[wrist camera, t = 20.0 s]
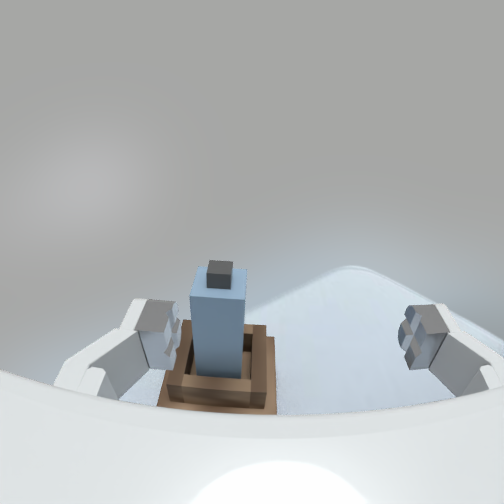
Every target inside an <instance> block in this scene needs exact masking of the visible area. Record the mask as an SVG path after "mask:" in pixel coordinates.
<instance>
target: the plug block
mask: <svg viewBox="0 0 504 504" xmlns="http://www.w3.org/2000/svg"><path fill="white" fill-rule="evenodd" d="M246 280H247V269H233V262H230V261H213V260H210V261H209V265H208V267H200V266H198V269H197V273H196V276H195V279H194V282H193V286H192V289H191V293H190V309H191V322H192V333H193V344H194V355H195V365H196V374H197V376H207V377H219V378H233V379H241V371H242V355H243V336H244V317H245V299H246Z"/></svg>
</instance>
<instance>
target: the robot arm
mask: <svg viewBox="0 0 504 504" xmlns="http://www.w3.org/2000/svg"><path fill="white" fill-rule="evenodd" d="M178 311H179V310H178V305H177V303H176V302H173V301H162V300H152V299H149V300H148V299H138V298H135V299H134V300H133V301H132V303H131V305H130V307H129V309H128V311H127V313H126V315H125V317H124V319H123V321H122V323H121V326H120V328H119V329H116V328H115V329H114V330H112V331H110V332H109V333H107V334H106V335H104V336H103V337H101V338H100V339H98V340H96V341H95V342H93V343H92V344H90V345H89V346H87V347H86V348H84V349H83V350H81V351H79V352H78V353H76V354H75V355H73V356H72V357H70V358H69V359H67V360H66V361H65V363H64V365H63V366H62V368H61V370H60V372H59V374H58V376H57V378H56V380H55V382H54V384H53V385H49V384H45V383H42V382H38V381H35V380H32V379H28V378H25V377H22V376H19V375H16V374H13V373H10V372H7V371H4V370H1V369H0V504H504V357H502V356H501V355H499V354H498V353H496V352H495V351H493V350H492V349H490V348H489V347H488V346H486V345H485V344H483V343H482V342H480V341H479V340H477V339H476V338H474V337H473V336H471V335H470V334H468V333H467V332H465V331H461V329H460V328H459V326H458V324H457V323H456V321H455V319H454V318H453V316H452V314H451V313H450V311H449V310H448V308H447V306H446V305H444V304H443V303H442V304H432V305H409V306H408V307H407V309H406V311H405V317H406V319H405V320H404V321H403V322H402V323H401V325H400V327H399V331H398V340H399V344H400V347H401V348H402V349H403V350H404V351H406V354H405V356H404V357H405V360H406V362H407V365H408V368H409V370H416V369H427V368H429V370H430V371H431V372H432V373H433V374H434V375H435V376H436V377H437V378H438V379H439V380H440V381H441V382H442V383H443V384H444V385H445V386H446V387H447V388H448V389H449V390H450V391H451V392H452V393H453V394H454V395H455V396H456V397H455V398H450V399H445V400H440V401H434V402H429V403H423V404H417V405H410V406H403V407H396V408H388V409H379V410H370V411H359V412H347V413H331V414H307V415H255V414H231V413H215V412H203V411H192V410H182V409H173V408H165V407H158V406H151V405H144V404H137V403H131V402H125V401H120V400H119V398H120V397H121V396H122V395H123V394H124V393H126V392H127V391H128V390H129V389H130V388H131V387H132V386H133V385H134V384H135V383H136V382H137V381H138V380H139V379H140V378H141V377H142V376H143V375H144V374H145V373H146V372H147V371H149V368H150V369H161V370H173V368H174V364H175V360H176V351H175V349H177V348H178V347H179V345H180V341H181V322H180V320H179V319H178V318H177V314H178Z"/></svg>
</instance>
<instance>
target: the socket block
mask: <svg viewBox="0 0 504 504" xmlns="http://www.w3.org/2000/svg"><path fill="white" fill-rule="evenodd" d="M175 351H176V360H175V364H174V368H173V370H166V372H165V376H164V380H163V384H162V387H161V391H160V395H159V399H158V403H157V406H158V407H165V408H173V409H182V410H192V411H203V412H215V413H231V414H255V415H277V404H276V372H275V344H274V337H267V336H266V325H250V324H244V336H243V355H242V371H241V379H233V378H219V377H207V376H197V374H196V365H195V355H194V344H193V333H192V322H191V320H183V323H182V326H181V341H180V345H179V347H178V348H177V349H175Z"/></svg>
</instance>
